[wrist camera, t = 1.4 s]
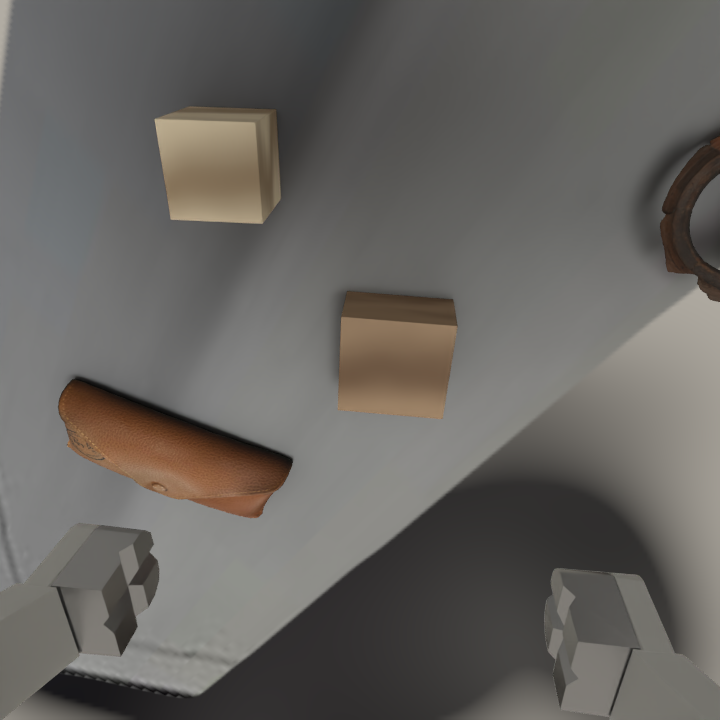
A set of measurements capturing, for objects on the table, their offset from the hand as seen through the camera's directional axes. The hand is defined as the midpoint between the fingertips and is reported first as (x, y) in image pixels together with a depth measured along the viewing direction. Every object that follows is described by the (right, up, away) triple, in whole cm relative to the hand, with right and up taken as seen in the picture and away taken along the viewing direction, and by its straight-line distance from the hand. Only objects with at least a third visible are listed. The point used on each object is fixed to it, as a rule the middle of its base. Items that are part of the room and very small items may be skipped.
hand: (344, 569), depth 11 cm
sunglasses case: (-15, -3, +34) cm, 37 cm away
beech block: (-7, +16, +21) cm, 28 cm away
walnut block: (+3, +6, +27) cm, 28 cm away
